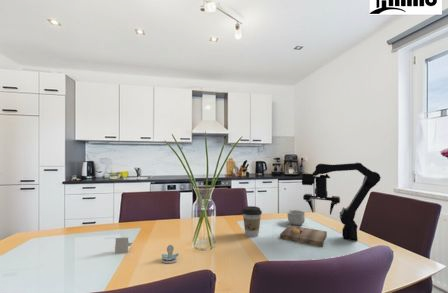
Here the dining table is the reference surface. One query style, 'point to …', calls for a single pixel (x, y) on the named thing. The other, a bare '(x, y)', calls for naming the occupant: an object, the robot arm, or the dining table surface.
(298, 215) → the teacup
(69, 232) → the dining table surface
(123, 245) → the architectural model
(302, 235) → the pocket board
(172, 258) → the pacifier
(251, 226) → the coffee cup
